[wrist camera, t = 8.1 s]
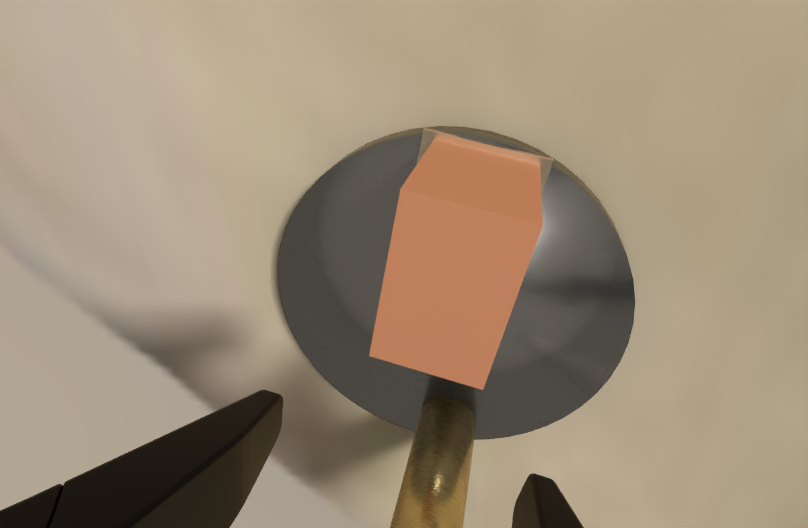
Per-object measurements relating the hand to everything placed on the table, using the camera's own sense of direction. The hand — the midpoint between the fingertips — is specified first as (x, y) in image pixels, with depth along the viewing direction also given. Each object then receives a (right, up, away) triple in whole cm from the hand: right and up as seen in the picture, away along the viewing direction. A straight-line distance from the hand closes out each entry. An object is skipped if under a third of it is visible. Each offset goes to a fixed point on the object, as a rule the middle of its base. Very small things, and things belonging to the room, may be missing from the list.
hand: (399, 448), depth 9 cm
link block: (+2, +5, +9) cm, 10 cm away
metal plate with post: (+2, +2, +12) cm, 13 cm away
